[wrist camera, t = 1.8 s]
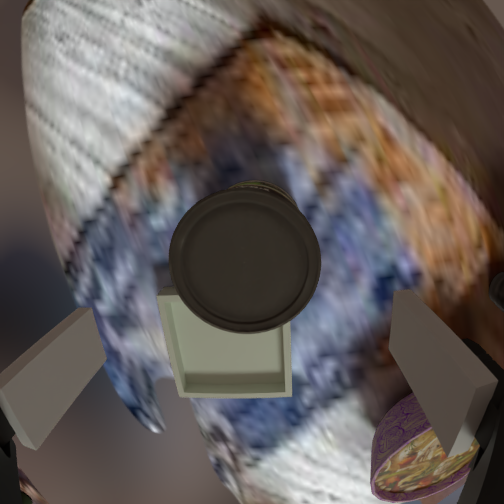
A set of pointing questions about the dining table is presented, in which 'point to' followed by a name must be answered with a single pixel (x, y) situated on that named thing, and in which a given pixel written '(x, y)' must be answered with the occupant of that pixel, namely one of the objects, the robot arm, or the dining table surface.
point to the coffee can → (245, 258)
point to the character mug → (25, 499)
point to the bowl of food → (412, 456)
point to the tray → (223, 356)
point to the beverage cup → (497, 290)
